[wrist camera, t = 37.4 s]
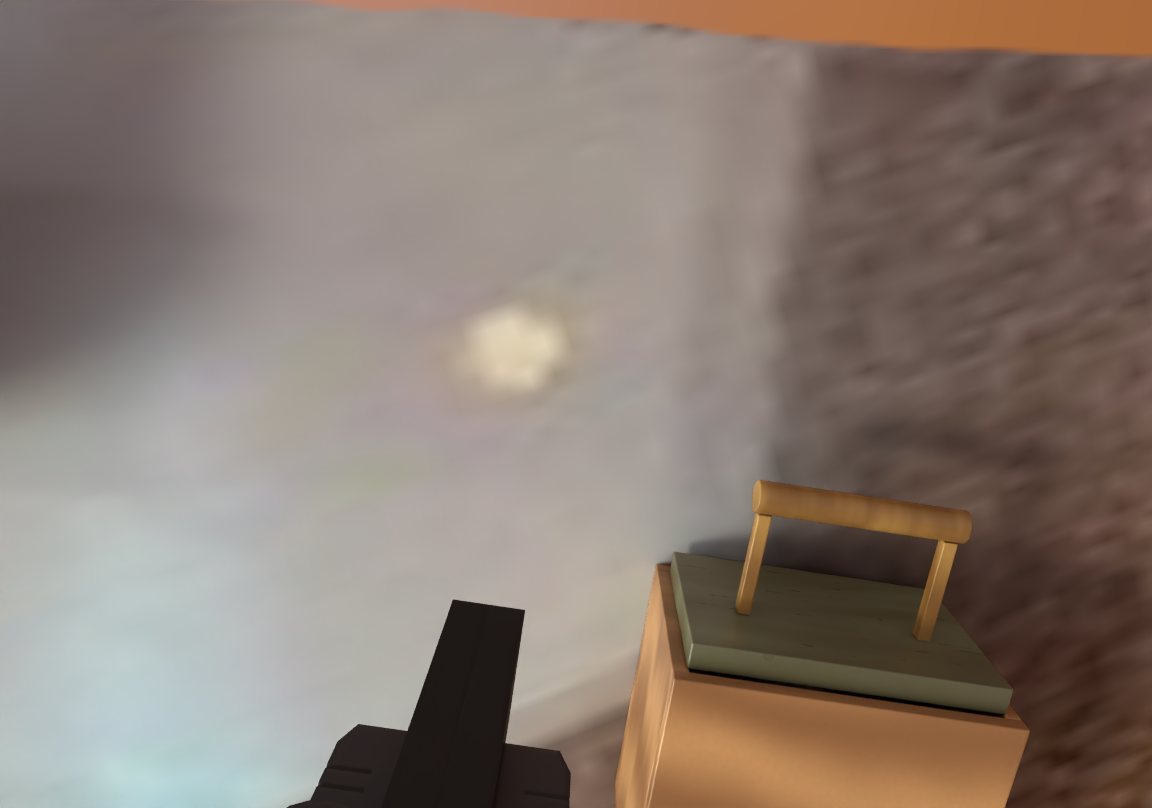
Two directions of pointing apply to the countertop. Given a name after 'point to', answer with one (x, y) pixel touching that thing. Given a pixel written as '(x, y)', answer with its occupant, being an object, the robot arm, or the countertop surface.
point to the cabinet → (796, 740)
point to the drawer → (836, 611)
